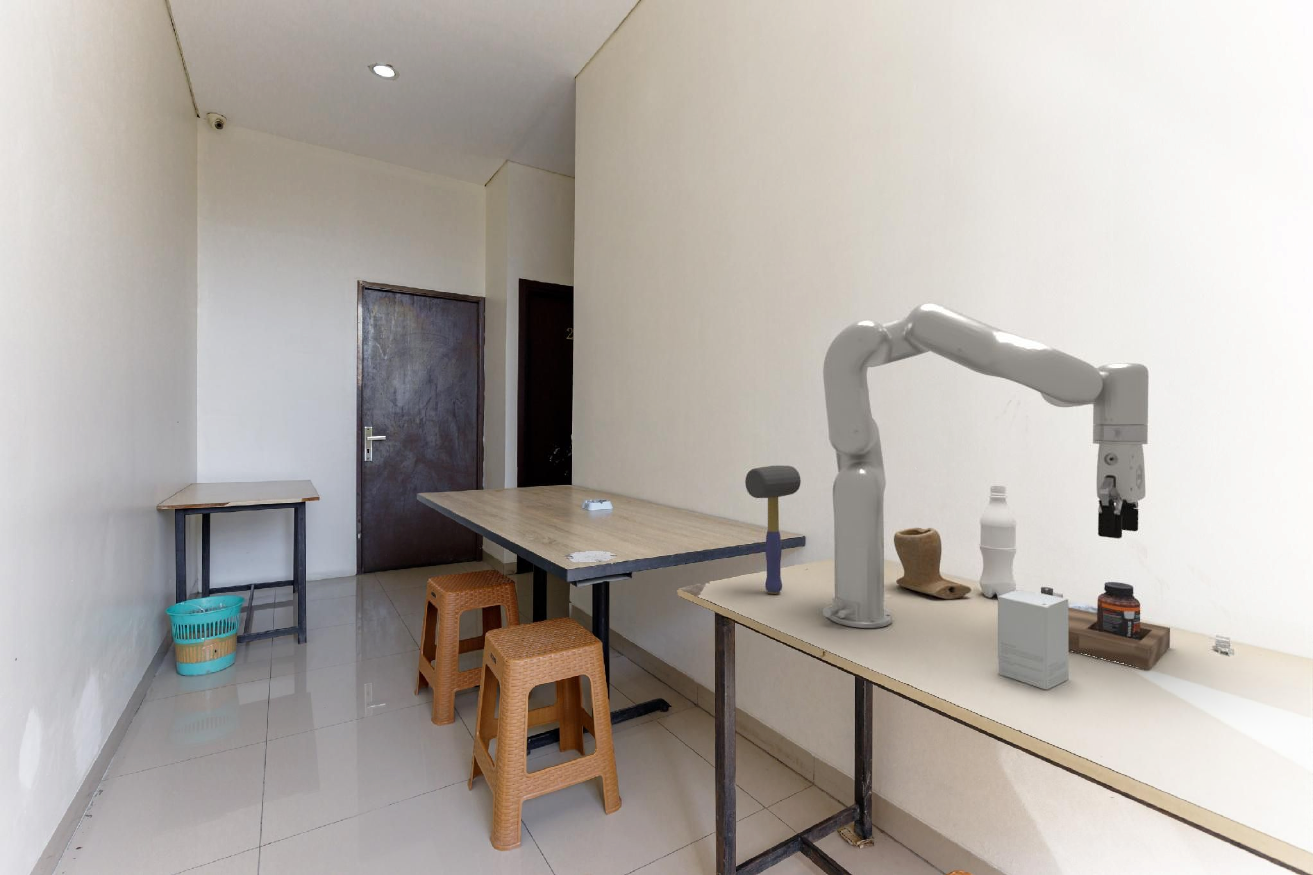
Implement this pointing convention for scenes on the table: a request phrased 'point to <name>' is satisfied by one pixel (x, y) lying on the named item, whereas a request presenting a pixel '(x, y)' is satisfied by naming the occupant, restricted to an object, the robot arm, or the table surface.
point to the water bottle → (997, 545)
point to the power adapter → (1222, 644)
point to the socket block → (1116, 641)
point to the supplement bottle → (1118, 611)
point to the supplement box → (1033, 638)
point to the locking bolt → (1050, 592)
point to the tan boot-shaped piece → (924, 564)
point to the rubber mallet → (773, 512)
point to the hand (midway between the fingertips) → (1118, 533)
